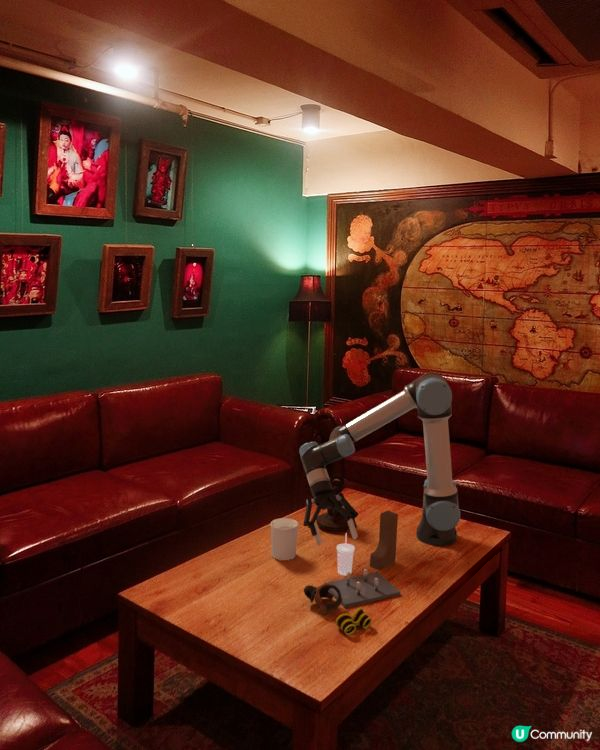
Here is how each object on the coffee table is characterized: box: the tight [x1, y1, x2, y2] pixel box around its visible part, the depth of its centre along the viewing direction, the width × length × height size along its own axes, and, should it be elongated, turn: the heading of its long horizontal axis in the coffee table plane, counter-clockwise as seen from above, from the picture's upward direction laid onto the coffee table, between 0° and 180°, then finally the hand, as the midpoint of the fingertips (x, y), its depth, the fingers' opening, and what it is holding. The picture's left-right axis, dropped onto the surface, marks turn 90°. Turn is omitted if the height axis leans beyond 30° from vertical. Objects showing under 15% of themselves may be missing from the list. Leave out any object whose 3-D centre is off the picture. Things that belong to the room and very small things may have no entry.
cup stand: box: [323, 568, 402, 609], centre depth 208 cm, size 20×14×5 cm
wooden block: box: [369, 510, 399, 571], centre depth 225 cm, size 9×4×18 cm, turn 135°
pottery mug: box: [303, 583, 342, 615], centre depth 198 cm, size 12×10×8 cm
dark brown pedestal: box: [315, 474, 350, 533], centre depth 256 cm, size 15×15×20 cm
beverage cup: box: [336, 532, 356, 577], centre depth 219 cm, size 6×6×14 cm
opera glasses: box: [335, 607, 373, 636], centre depth 187 cm, size 10×5×5 cm, turn 125°
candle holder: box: [270, 517, 299, 561], centre depth 230 cm, size 10×10×12 cm
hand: (338, 541), depth 221 cm, fingers open, 13 cm apart
